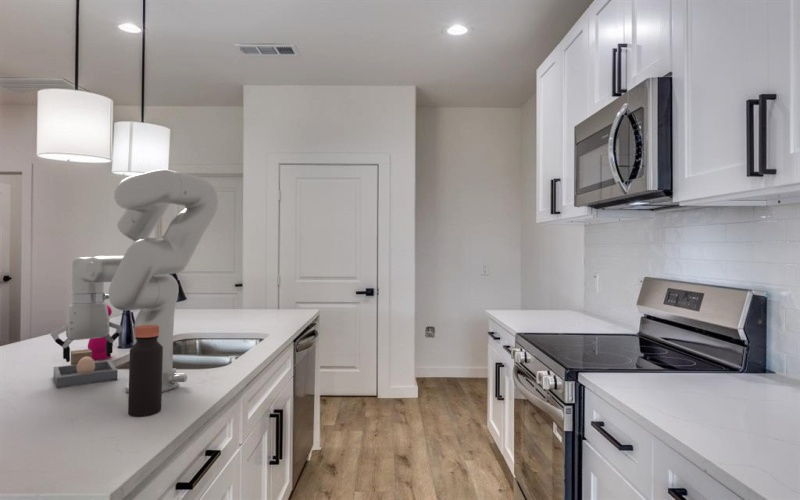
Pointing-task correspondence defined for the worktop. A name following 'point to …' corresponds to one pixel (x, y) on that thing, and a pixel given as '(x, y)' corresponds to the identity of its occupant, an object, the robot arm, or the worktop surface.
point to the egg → (86, 365)
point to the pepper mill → (99, 344)
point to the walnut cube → (79, 355)
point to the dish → (70, 376)
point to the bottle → (145, 372)
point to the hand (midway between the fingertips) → (88, 358)
